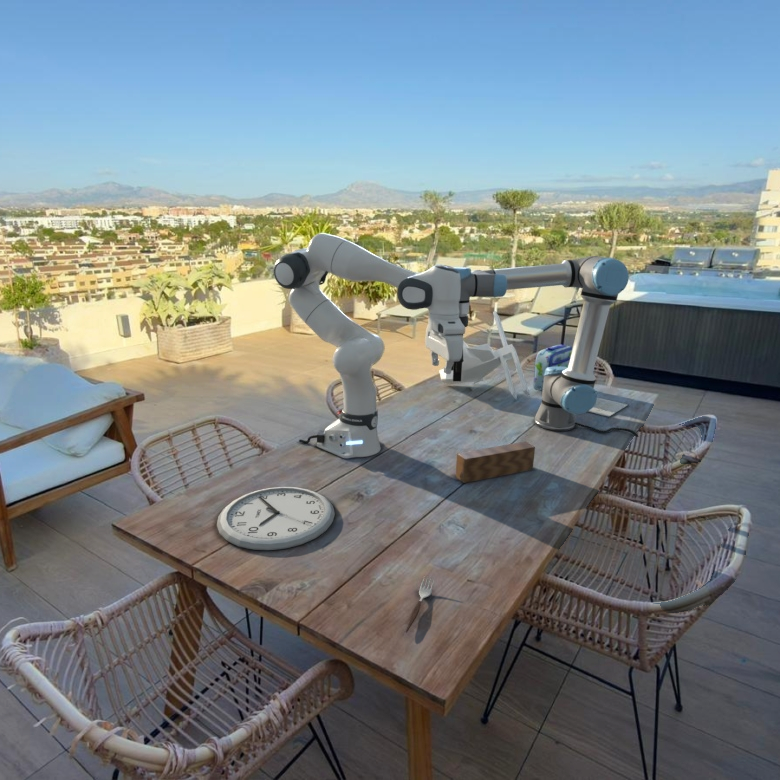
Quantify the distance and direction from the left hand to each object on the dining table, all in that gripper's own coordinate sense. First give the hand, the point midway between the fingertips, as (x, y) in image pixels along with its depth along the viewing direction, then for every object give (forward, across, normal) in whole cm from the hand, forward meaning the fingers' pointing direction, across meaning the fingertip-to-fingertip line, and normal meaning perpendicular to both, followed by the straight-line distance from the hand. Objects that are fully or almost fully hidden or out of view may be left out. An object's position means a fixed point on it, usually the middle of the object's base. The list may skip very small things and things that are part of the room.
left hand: (441, 369), depth 155 cm
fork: (+33, +58, -26) cm, 71 cm away
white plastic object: (+33, -71, +50) cm, 92 cm away
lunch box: (+33, -67, +87) cm, 114 cm away
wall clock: (+33, +16, -51) cm, 62 cm away
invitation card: (+32, -39, +92) cm, 105 cm away
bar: (+33, +7, +17) cm, 38 cm away
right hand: (+9, -22, +14) cm, 28 cm away
